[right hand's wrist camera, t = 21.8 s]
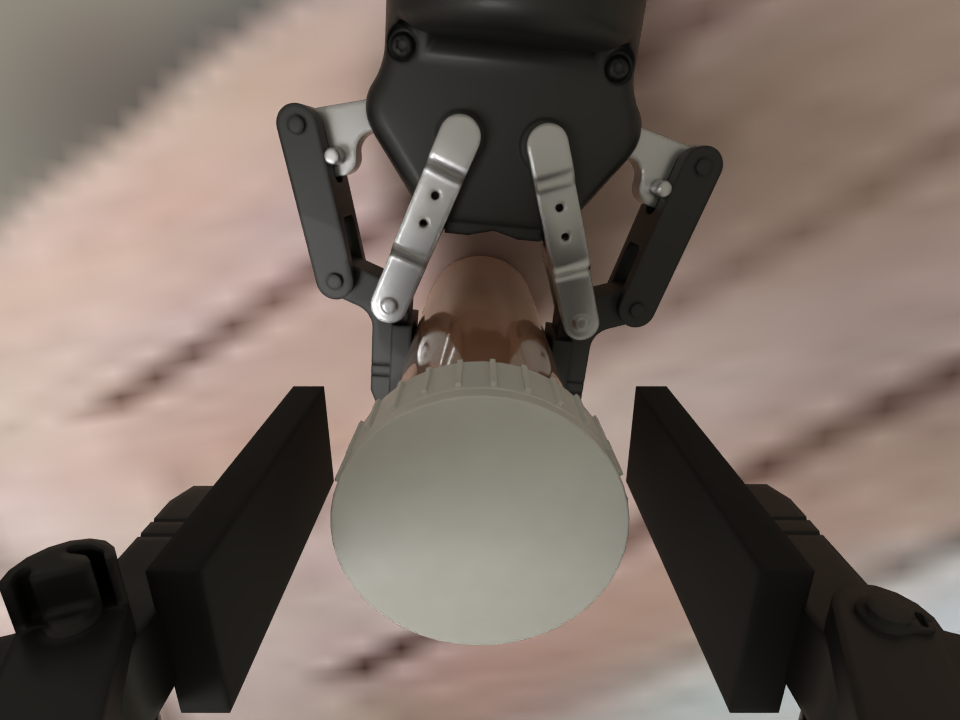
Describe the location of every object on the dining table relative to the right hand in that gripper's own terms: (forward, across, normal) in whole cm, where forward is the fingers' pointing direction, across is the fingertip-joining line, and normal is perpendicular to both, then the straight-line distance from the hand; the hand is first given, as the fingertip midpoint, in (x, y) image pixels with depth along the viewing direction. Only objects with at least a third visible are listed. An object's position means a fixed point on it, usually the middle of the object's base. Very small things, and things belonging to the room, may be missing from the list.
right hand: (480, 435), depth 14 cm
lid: (-4, 0, 0) cm, 4 cm away
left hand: (+6, 0, -3) cm, 7 cm away
